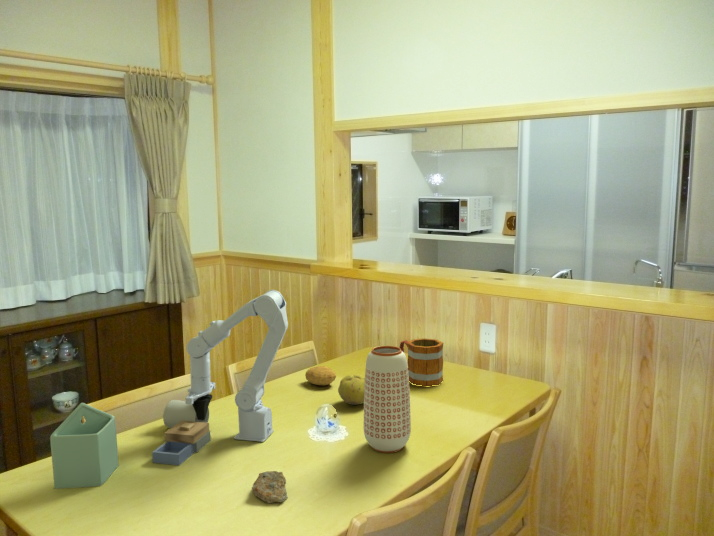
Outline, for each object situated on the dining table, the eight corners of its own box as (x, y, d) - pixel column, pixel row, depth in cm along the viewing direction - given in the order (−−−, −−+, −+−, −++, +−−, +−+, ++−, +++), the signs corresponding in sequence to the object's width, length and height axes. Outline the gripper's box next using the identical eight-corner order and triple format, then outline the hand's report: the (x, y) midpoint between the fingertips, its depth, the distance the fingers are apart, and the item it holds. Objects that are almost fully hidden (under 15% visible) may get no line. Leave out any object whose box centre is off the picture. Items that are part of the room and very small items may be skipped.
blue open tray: (194, 452, 163) (194, 442, 163) (179, 465, 156) (178, 454, 155) (169, 449, 165) (168, 439, 165) (152, 462, 158) (152, 452, 157)
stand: (210, 440, 171) (210, 430, 171) (197, 452, 163) (196, 442, 163) (181, 437, 173) (180, 428, 173) (166, 449, 165) (166, 439, 165)
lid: (209, 430, 171) (208, 420, 170) (193, 443, 162) (193, 432, 161) (181, 428, 173) (181, 417, 172) (164, 440, 164) (164, 430, 164)
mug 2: (450, 381, 220) (451, 342, 218) (427, 390, 211) (427, 349, 209) (412, 370, 235) (412, 333, 233) (388, 377, 226) (388, 340, 224)
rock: (250, 487, 144) (249, 501, 134) (256, 463, 145) (255, 475, 135) (285, 493, 145) (286, 507, 135) (290, 469, 146) (292, 481, 136)
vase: (415, 439, 170) (415, 345, 166) (404, 459, 157) (403, 358, 153) (372, 434, 174) (370, 341, 170) (357, 453, 161) (355, 354, 158)
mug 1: (161, 429, 176) (192, 433, 173) (164, 400, 178) (196, 403, 174) (183, 425, 188) (213, 429, 185) (186, 398, 189) (216, 401, 186)
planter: (67, 498, 140) (60, 419, 137) (54, 488, 145) (47, 411, 142) (132, 473, 152) (127, 400, 149) (117, 464, 157) (112, 393, 154)
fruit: (332, 408, 195) (332, 379, 194) (346, 396, 206) (345, 369, 205) (363, 412, 191) (363, 382, 190) (376, 400, 202) (375, 372, 200)
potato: (323, 378, 227) (322, 360, 226) (341, 386, 216) (341, 368, 215) (302, 382, 221) (301, 365, 220) (320, 392, 211) (319, 373, 210)
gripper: (200, 367, 182) (201, 409, 183) (175, 381, 168) (176, 427, 169) (221, 369, 180) (222, 411, 182) (197, 384, 166) (198, 429, 168)
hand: (201, 419), depth 175 cm, fingers closed, pressing on mug 1
